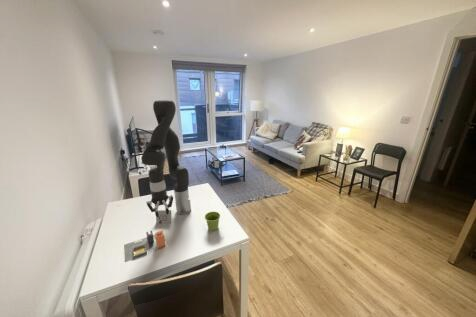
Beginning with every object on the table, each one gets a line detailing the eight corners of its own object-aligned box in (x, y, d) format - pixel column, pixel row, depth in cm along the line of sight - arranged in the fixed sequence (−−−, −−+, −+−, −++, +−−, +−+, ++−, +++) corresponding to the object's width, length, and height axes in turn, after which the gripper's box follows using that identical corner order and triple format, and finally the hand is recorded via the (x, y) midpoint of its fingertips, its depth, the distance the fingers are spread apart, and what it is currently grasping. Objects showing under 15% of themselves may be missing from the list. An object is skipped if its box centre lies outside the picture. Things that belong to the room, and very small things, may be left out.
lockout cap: (164, 240, 110) (162, 229, 108) (165, 245, 107) (163, 233, 104) (156, 243, 108) (154, 231, 106) (157, 248, 105) (155, 236, 103)
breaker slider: (153, 236, 113) (151, 229, 111) (154, 241, 110) (152, 233, 108) (147, 238, 111) (145, 231, 110) (148, 243, 108) (146, 235, 106)
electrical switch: (156, 225, 125) (154, 212, 122) (159, 221, 130) (157, 208, 127) (171, 225, 125) (169, 212, 122) (173, 221, 130) (172, 208, 127)
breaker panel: (163, 234, 117) (162, 230, 116) (167, 248, 107) (166, 244, 106) (124, 246, 108) (123, 243, 107) (125, 264, 97) (124, 260, 96)
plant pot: (202, 230, 120) (201, 218, 117) (209, 221, 128) (209, 210, 125) (216, 234, 117) (216, 222, 114) (223, 224, 125) (222, 213, 122)
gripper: (170, 181, 110) (174, 208, 116) (142, 188, 103) (147, 215, 109) (173, 187, 104) (177, 214, 110) (144, 194, 97) (149, 223, 103)
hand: (162, 215), depth 110 cm, fingers open, 4 cm apart
